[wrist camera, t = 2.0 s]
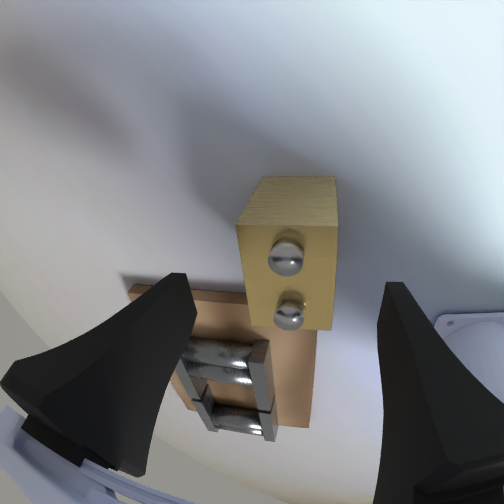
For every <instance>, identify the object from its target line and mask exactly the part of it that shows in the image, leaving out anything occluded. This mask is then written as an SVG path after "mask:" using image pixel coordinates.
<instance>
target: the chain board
mask: <svg viewBox="0 0 504 504" xmlns="http://www.w3.org/2000/svg"><path fill="white" fill-rule="evenodd" d="M151 287H152V286H149V285H139V284H134V285H133V286H132V288H131V289H130V290H129V292H128V295H129V297H130V299H131V301H132V302H133V301H134V300H135V299H137V298H138V297H139V296H141V295H142V294H143V293H145V292H146V291H147V290H149V289H150V288H151ZM191 293H192V296H193V299H194V302H195V306H196V309H197V312H198V314H197V317H196V320H195V324H194V327H193V330H192V333H191V336H192V337H199V338H207V339H214V340H222V341H230V342H239V343H248V344H253V343H254V340H255V339H263V340H270V348H271V357H272V367H273V376H274V386H275V393H274V394H275V395H276V405H277V415H278V424H279V425H280V426H290V427H301V428H309V422H310V414H311V404H312V394H313V382H314V370H315V357H316V342H317V330H312V329H297V330H293V331H287V330H283V329H281V328H279V327H266V326H254V325H251V319H250V313H249V306H248V300H247V294H244V293H229V292H216V291H203V290H192V289H191ZM170 380H171V381H172V383H173V385H174V387H175V388H176V390H177V392H178V394H179V395H180V397H181V399H182V401H183V402H184V404H185V406H186V407H187V409H188V410H192V411H196V412H197V410H196V408H195V407H194V405H193V403H192V401H191V400H192V398H190V397H189V396H188V394H187V392H186V390H185V388H184V386H183V384H182V383H181V381H180V379H179V377H178V375H177V373H176V371H175V370H174V372H173V374H172V376H171V378H170ZM207 384H208V385H209V386H210V388H211V391H212V393H213V395H214V398H215V400H216V402H217V404H220V405H226V406H232V407H238V408H244V409H251V410H258V407H257V403H256V398H255V394H254V389H253V387H252V386H245V385H238V384H231V383H224V382H218V381H212V380H207ZM258 411H259V410H258Z"/></svg>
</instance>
